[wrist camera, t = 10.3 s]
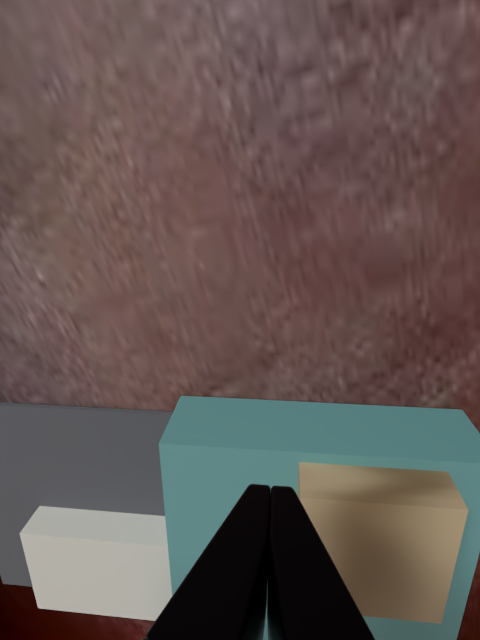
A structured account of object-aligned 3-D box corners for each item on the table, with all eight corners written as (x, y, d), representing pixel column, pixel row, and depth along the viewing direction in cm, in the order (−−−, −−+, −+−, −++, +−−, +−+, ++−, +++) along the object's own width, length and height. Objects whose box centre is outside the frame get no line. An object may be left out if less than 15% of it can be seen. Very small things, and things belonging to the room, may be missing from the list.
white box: (185, 517, 24) (177, 547, 22) (190, 590, 26) (183, 623, 24) (39, 505, 25) (19, 533, 23) (55, 577, 27) (37, 608, 25)
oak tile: (447, 471, 17) (468, 509, 15) (425, 578, 19) (441, 623, 17) (298, 462, 17) (300, 497, 15) (293, 566, 19) (293, 609, 17)
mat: (181, 412, 22) (180, 415, 21) (193, 598, 26) (192, 602, 26) (-45, 400, 23) (-49, 402, 23) (5, 579, 28) (3, 583, 27)
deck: (462, 409, 20) (502, 464, 16) (415, 631, 25) (437, 710, 22) (181, 395, 21) (158, 443, 18) (194, 608, 27) (179, 679, 23)
